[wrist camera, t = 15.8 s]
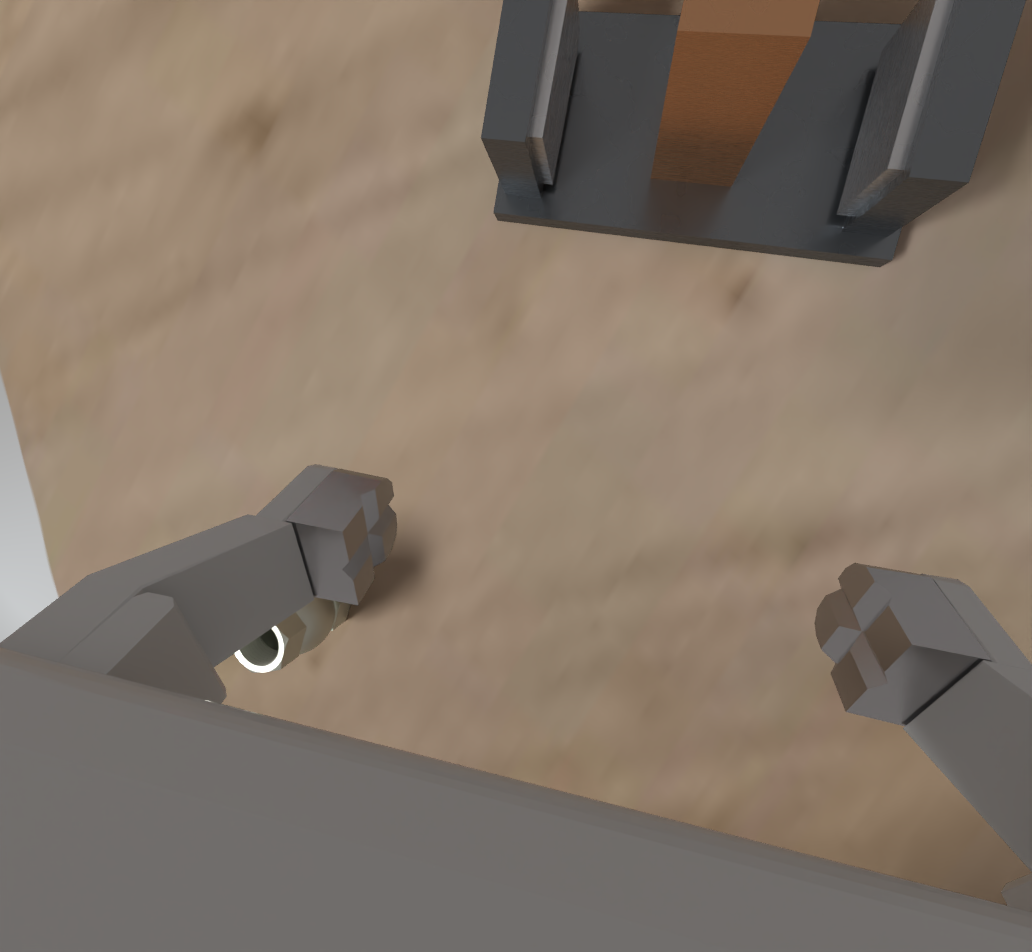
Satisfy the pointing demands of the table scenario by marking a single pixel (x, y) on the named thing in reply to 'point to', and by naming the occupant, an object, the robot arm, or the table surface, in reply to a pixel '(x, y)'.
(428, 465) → the table surface
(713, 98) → the wooden rectangular block
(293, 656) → the valve
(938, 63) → the vise jaws
